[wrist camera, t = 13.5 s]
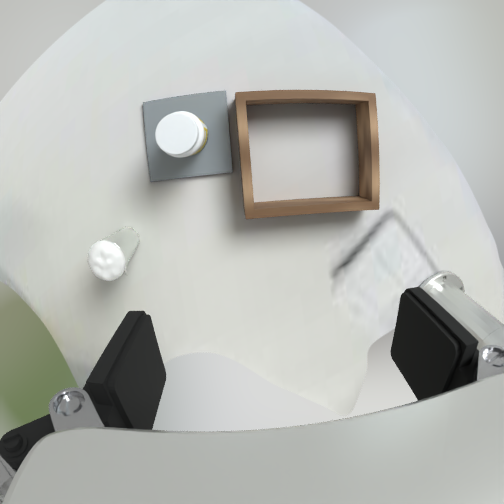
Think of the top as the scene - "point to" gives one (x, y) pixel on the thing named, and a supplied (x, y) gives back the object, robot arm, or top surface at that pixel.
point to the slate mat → (215, 151)
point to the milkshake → (113, 254)
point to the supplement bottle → (181, 134)
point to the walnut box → (366, 153)
